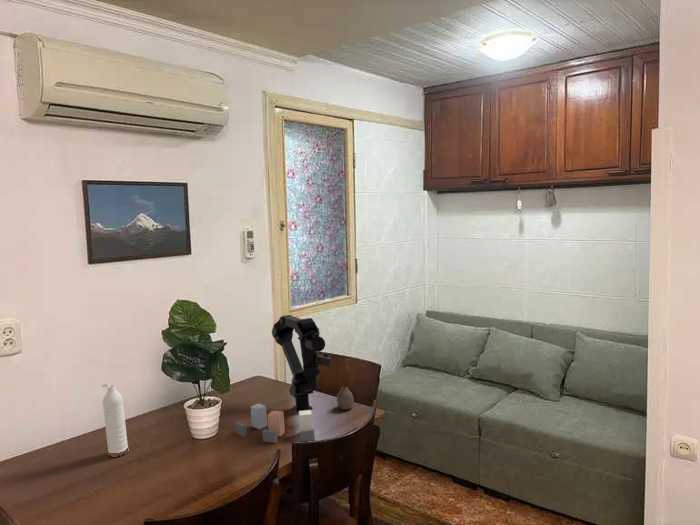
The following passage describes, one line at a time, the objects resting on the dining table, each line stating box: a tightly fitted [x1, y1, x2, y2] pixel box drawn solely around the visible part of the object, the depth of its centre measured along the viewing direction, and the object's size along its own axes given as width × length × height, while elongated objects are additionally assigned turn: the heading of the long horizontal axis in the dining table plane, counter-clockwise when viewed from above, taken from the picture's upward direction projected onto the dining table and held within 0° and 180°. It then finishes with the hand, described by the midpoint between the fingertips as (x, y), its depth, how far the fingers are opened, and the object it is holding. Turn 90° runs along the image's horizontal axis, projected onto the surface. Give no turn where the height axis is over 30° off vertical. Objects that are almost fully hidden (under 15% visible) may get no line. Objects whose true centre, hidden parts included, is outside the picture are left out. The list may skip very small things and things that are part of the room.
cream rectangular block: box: [298, 409, 314, 431], centre depth 196 cm, size 4×4×8 cm
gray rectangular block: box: [250, 403, 268, 430], centre depth 204 cm, size 4×4×8 cm
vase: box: [336, 386, 354, 411], centre depth 218 cm, size 7×7×9 cm
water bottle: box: [101, 382, 129, 453], centre depth 188 cm, size 9×6×25 cm
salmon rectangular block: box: [267, 410, 286, 438], centre depth 197 cm, size 4×4×8 cm
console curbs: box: [234, 421, 316, 444], centre depth 194 cm, size 32×6×4 cm, turn 73°
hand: (314, 390), depth 209 cm, fingers closed
